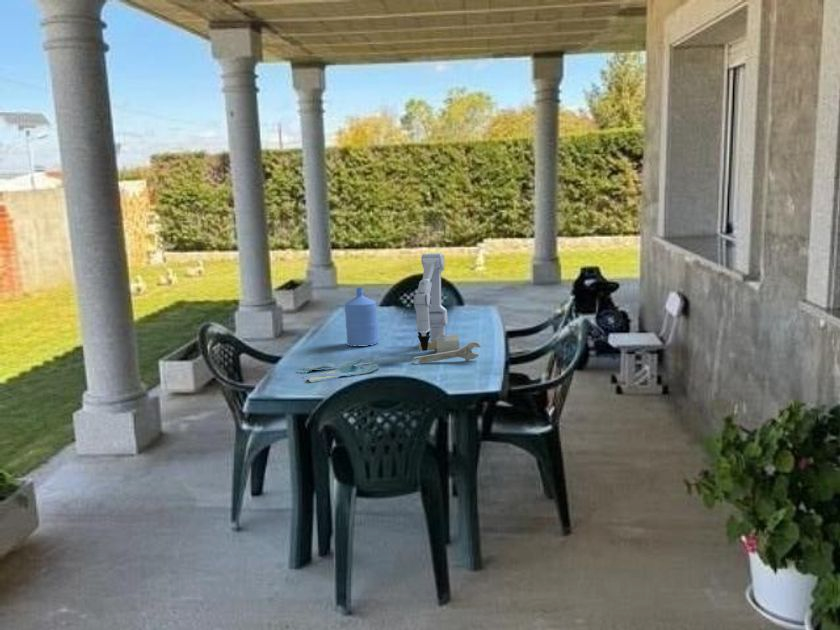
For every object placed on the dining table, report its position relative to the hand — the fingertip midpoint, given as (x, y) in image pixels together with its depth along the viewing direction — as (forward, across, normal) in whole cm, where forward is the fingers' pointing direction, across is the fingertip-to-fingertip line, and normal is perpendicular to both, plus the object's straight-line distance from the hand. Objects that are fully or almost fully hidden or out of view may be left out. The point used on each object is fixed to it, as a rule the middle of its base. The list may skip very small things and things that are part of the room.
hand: (424, 348), depth 349 cm
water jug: (+3, -30, -30) cm, 43 cm away
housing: (+2, 0, +10) cm, 11 cm away
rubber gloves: (+3, +23, -38) cm, 44 cm away
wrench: (+3, +18, +9) cm, 20 cm away
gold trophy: (+2, 0, +5) cm, 5 cm away
